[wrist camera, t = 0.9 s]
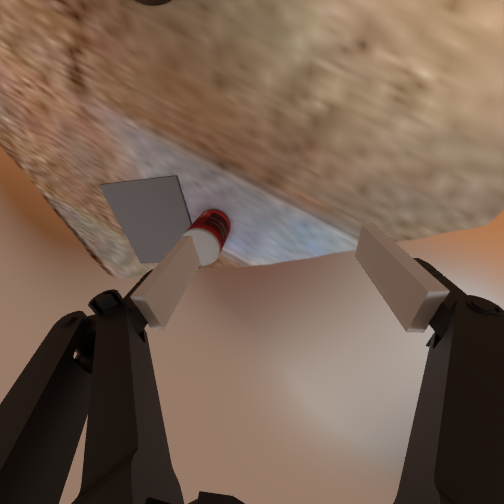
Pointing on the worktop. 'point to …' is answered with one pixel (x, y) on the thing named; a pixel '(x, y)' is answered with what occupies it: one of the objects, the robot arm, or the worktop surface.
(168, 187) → the rubber mat
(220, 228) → the canned food
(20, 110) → the worktop surface
